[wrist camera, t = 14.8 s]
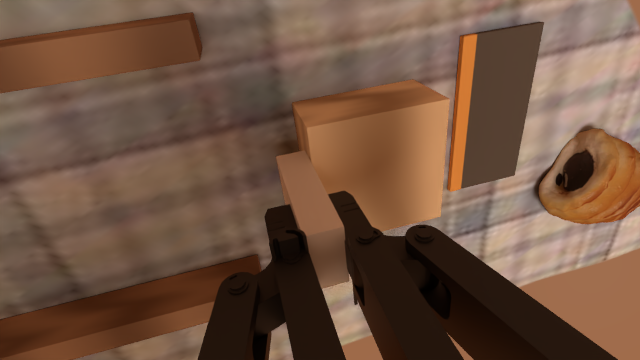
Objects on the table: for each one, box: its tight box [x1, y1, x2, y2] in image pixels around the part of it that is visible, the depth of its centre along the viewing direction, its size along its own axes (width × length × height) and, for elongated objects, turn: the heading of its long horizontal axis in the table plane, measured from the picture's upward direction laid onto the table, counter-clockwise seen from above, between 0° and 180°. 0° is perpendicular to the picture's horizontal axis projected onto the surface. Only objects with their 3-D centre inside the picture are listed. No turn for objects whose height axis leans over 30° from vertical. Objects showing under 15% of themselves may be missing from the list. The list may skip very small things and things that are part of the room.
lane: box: [0, 12, 262, 360], centre depth 18 cm, size 16×16×3 cm
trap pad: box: [448, 22, 544, 192], centre depth 23 cm, size 5×10×1 cm, turn 6°
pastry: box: [539, 129, 640, 224], centre depth 27 cm, size 9×7×4 cm
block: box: [292, 79, 449, 232], centre depth 20 cm, size 7×7×4 cm
